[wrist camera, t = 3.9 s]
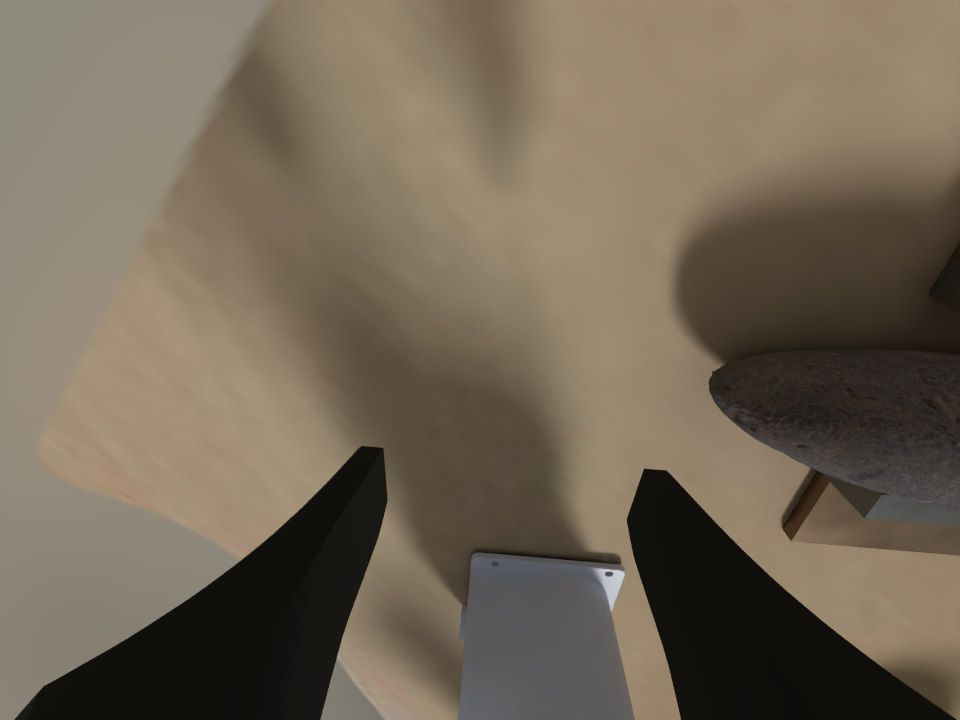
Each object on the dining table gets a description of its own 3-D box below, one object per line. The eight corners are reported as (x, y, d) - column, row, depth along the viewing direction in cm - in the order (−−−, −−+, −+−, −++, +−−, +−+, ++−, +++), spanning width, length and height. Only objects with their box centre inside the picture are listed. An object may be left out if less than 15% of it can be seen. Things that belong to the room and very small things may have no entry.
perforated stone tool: (666, 399, 19) (739, 519, 13) (711, 296, 17) (826, 386, 11) (969, 443, 20) (1177, 580, 14) (1058, 348, 17) (1365, 464, 11)
